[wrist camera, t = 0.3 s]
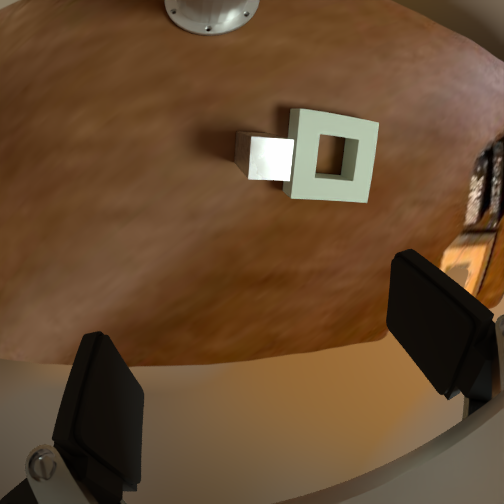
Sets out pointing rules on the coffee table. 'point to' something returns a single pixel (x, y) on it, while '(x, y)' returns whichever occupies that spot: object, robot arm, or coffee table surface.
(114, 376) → the robot arm
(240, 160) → the steel bar
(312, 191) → the well block
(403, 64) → the coffee table surface
